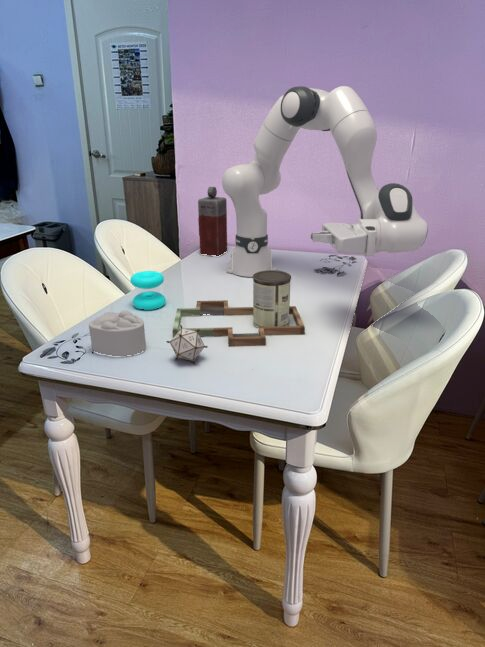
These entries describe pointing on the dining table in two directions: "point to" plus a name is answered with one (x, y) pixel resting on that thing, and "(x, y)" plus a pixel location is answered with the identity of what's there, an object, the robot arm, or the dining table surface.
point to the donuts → (147, 282)
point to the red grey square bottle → (212, 223)
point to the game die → (187, 344)
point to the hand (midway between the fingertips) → (311, 237)
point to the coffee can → (271, 298)
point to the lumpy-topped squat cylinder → (118, 334)
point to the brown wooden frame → (233, 339)
